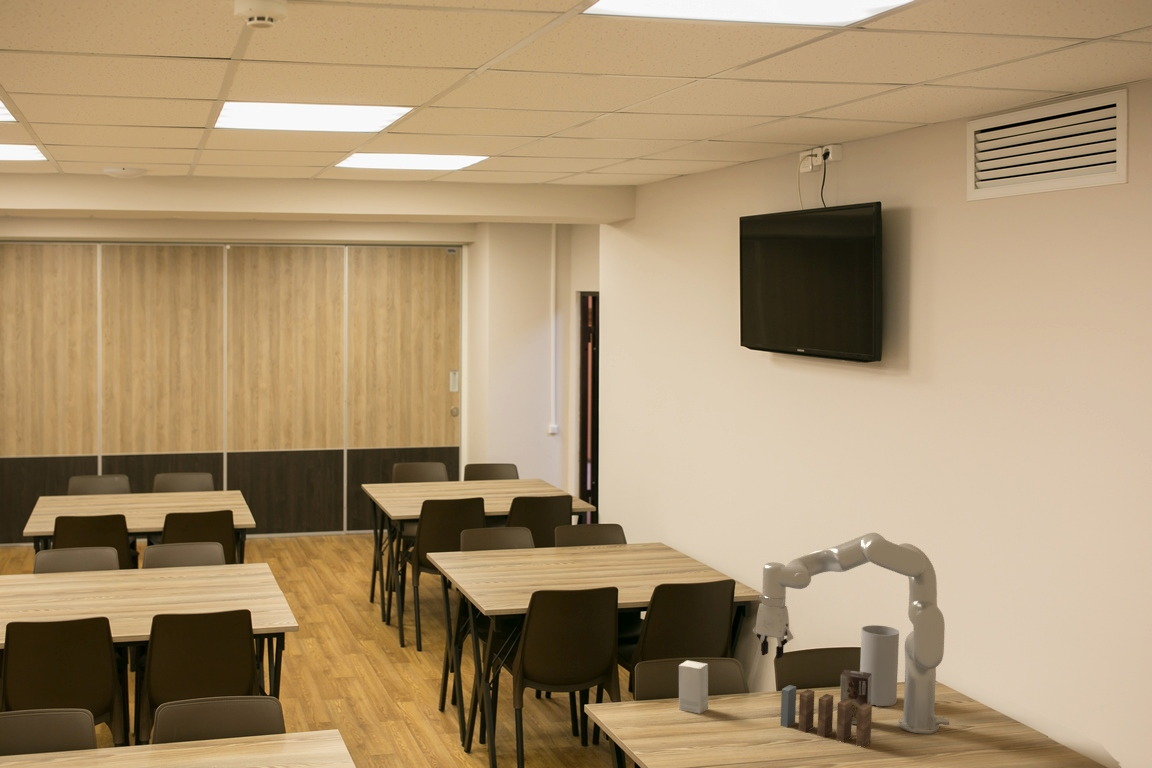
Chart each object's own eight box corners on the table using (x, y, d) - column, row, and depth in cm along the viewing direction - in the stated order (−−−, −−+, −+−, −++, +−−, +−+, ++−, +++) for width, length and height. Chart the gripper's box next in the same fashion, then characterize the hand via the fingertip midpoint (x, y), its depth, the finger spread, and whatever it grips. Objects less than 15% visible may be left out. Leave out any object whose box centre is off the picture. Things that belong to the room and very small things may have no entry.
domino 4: (870, 742, 347) (872, 704, 347) (863, 747, 343) (864, 709, 342) (863, 740, 349) (864, 703, 348) (855, 745, 344) (857, 707, 344)
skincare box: (708, 709, 374) (709, 663, 373) (699, 715, 369) (701, 668, 368) (686, 704, 379) (687, 659, 378) (677, 709, 373) (678, 664, 372)
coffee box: (870, 721, 366) (872, 672, 365) (867, 727, 360) (868, 678, 359) (842, 716, 370) (844, 668, 369) (838, 722, 364) (840, 674, 363)
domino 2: (832, 732, 355) (833, 695, 355) (824, 737, 351) (825, 700, 350) (825, 730, 357) (826, 693, 356) (817, 735, 352) (818, 698, 352)
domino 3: (851, 737, 351) (852, 700, 351) (843, 742, 347) (844, 704, 346) (844, 735, 353) (845, 698, 352) (836, 740, 348) (837, 703, 348)
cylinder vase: (853, 695, 391) (856, 625, 390) (887, 694, 393) (890, 625, 391) (866, 707, 379) (869, 635, 377) (902, 707, 380) (904, 635, 379)
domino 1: (813, 727, 359) (814, 691, 359) (805, 732, 355) (806, 695, 354) (806, 725, 361) (807, 689, 360) (798, 730, 356) (799, 693, 356)
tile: (795, 722, 363) (796, 686, 363) (787, 727, 359) (788, 690, 358) (788, 720, 365) (789, 684, 364) (780, 725, 360) (781, 689, 360)
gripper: (745, 598, 366) (743, 653, 367) (791, 607, 355) (790, 664, 356) (756, 594, 372) (754, 648, 373) (802, 603, 361) (800, 658, 362)
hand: (772, 655), depth 365 cm, fingers open, 4 cm apart
